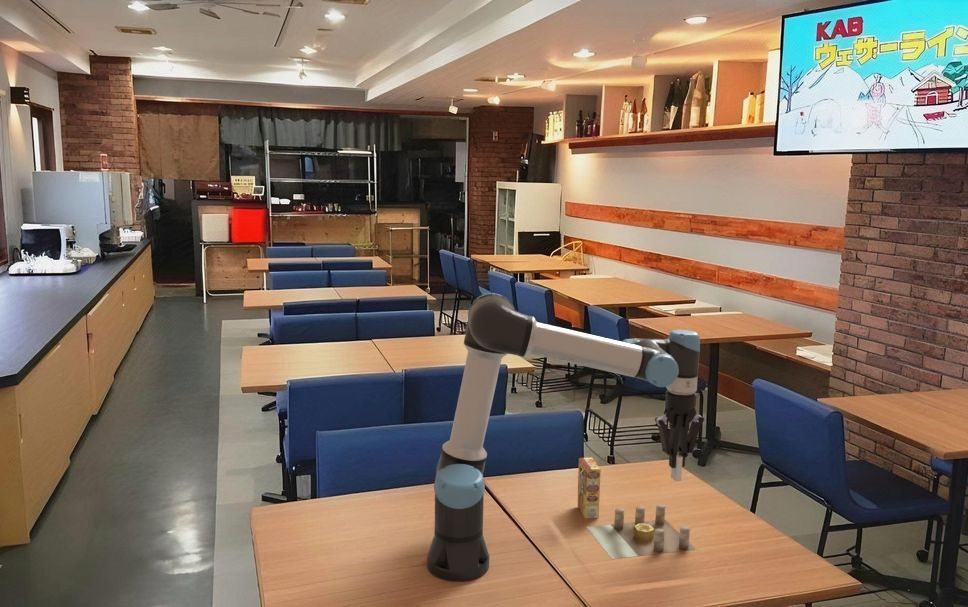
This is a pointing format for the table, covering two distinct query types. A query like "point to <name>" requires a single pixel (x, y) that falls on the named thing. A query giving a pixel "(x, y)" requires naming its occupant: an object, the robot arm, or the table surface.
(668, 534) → the board
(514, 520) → the table surface
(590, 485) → the candy box
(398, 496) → the table surface
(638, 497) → the table surface
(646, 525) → the wooden star polyhedron
